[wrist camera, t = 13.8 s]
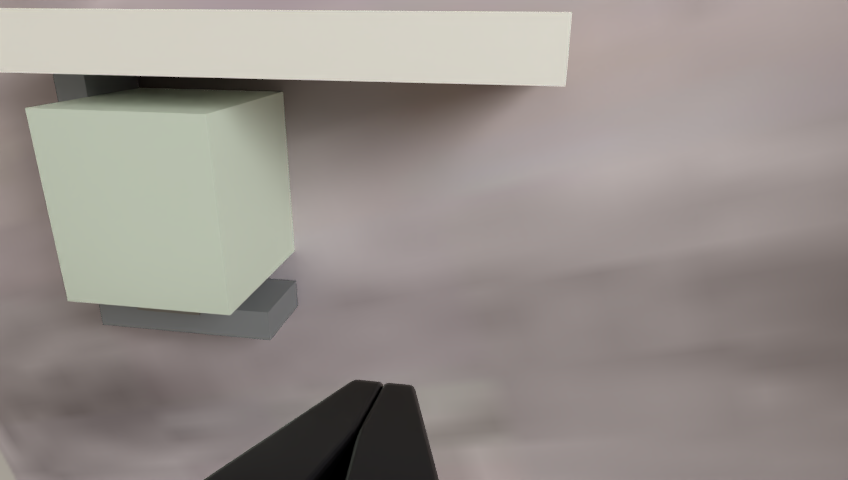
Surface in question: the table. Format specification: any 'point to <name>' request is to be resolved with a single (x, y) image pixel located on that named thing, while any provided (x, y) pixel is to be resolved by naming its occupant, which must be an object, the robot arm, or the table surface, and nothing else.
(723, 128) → the table surface
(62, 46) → the cleat board
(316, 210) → the table surface
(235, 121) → the cabinet block
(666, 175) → the table surface
